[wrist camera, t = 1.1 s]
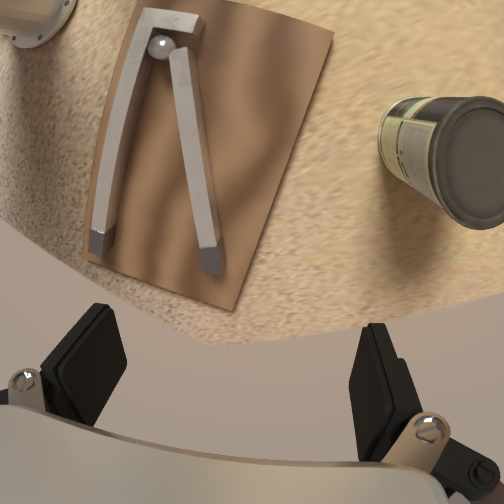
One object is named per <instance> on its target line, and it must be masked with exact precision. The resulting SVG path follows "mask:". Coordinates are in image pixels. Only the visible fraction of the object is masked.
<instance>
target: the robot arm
mask: <svg viewBox="0 0 504 504" xmlns="http://www.w3.org/2000/svg"><path fill="white" fill-rule="evenodd" d="M75 3H76V0H0V35H8V37H9V39H10V41H11V42H12V43H13V44H14V45H15V46H17V47H19V48H29V49H31V48H35V47H38V46H40V45H42V44H44V43H45V42H47V41H48V40H50V39H51V38H52V37H53V36H54V35H55V34H57V32H58V31H59V30H60V29H61V28H62V27H63V25H64V24H65V22H66V21H67V20H68V18H69V16H70V14H71V13H72V11H73V8H74V6H75ZM126 366H127V359H126V355H125V352H124V349H123V345H122V341H121V337H120V334H119V330H118V326H117V322H116V318H115V314H114V311H113V309H111V308H110V306H109V305H107V304H100V303H94V304H93V305H92V306H91V307H90V308H89V309H88V311H87V312H86V313H85V314H84V315H83V316H82V317H81V319H80V320H79V321H78V322H77V323H76V324H75V325H74V326H73V328H72V329H71V330H70V331H69V332H68V333H67V335H66V336H65V337H64V338H63V339H62V340H61V341H60V343H59V344H58V345H57V346H56V347H55V348H54V350H53V351H52V352H51V353H50V355H49V356H48V357H47V358H46V359H45V360H44V362H43V363H42V364H41V365H40V367H41V369H42V370H41V371H40V372H38V371H37V370H35V369H31V368H27V369H22V370H19V371H18V372H16V373H15V374H14V375H13V376H12V377H11V378H10V380H9V384H8V389H5V390H1V391H0V504H504V484H503V483H502V482H501V481H500V471H499V468H498V466H497V465H496V463H495V462H493V461H492V460H491V459H489V458H487V457H485V456H483V455H481V454H480V453H478V452H476V451H474V450H472V449H470V448H468V447H466V446H465V445H463V444H461V443H459V442H457V441H456V440H454V439H452V438H450V432H451V431H450V426H449V424H448V422H447V421H446V420H445V419H444V418H443V417H442V416H440V415H439V414H436V413H433V412H423V410H422V407H421V404H420V401H419V398H418V395H417V392H416V389H415V386H414V383H413V381H412V378H411V375H410V373H409V370H408V367H407V364H406V362H405V360H404V359H403V358H397V355H396V352H395V349H394V347H393V344H392V341H391V339H390V336H389V333H388V331H387V328H386V326H385V324H384V323H369V324H368V326H367V327H363V329H362V332H361V337H360V341H359V345H358V349H357V353H356V357H355V361H354V365H353V369H352V372H351V376H350V380H349V393H350V400H351V406H352V413H353V420H354V428H355V435H356V443H357V451H358V458H359V461H360V462H345V461H344V462H343V461H342V462H312V461H285V460H267V459H255V458H243V457H234V456H226V455H218V454H210V453H203V452H197V451H192V450H186V449H180V448H175V447H169V446H164V445H159V444H155V443H151V442H146V441H142V440H138V439H134V438H130V437H126V436H122V435H118V434H115V433H111V432H107V431H104V430H101V429H97V428H94V427H93V426H94V424H95V422H96V421H97V419H98V417H99V415H100V413H101V411H102V410H103V408H104V406H105V404H106V403H107V401H108V399H109V397H110V395H111V394H112V392H113V390H114V388H115V387H116V385H117V383H118V381H119V380H120V378H121V376H122V374H123V373H124V371H125V369H126ZM362 461H364V462H362Z"/></svg>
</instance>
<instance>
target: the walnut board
mask: <svg viewBox="0 0 504 504" xmlns="http://www.w3.org/2000/svg"><path fill="white" fill-rule="evenodd" d="M144 7H146V8H156V9H164V10H172V11H178V12H185V13H191V14H197V15H200V16H201V18H202V19H203V20H204V21H205V22H206V23H205V26H204V28H203V31H202V34H201V37H200V39H196V38H191V37H186V36H180V35H175V34H169V33H163V35H164V36H167V37H169V38H171V39H172V40H174V41H176V42H177V43H179V44H180V46H181V48H183V47H188V48H189V49H191V50H193V51H194V52H195V59H196V66H197V74H198V82H199V89H200V97H201V104H202V111H203V118H204V125H205V132H206V139H207V146H208V153H209V160H210V166H211V173H212V179H213V186H214V192H215V199H216V205H217V211H218V218H219V224H220V230H221V235H222V237H223V243H224V249H225V255H226V262H225V265H224V268H223V271H222V273H218V274H203V270H202V265H201V260H200V255H199V250H198V248H199V242H198V237H197V232H196V227H195V221H194V216H193V210H192V205H191V199H190V194H189V188H188V182H187V176H186V171H185V165H184V158H183V152H182V146H181V140H180V133H179V127H178V120H177V113H176V106H175V99H174V92H173V85H172V77H171V69H170V62H165V61H162V60H159V59H156V58H154V61H153V64H152V67H151V71H150V74H149V77H148V81H147V84H146V87H145V91H144V94H143V98H142V101H141V105H140V109H139V113H138V117H137V120H136V124H135V129H134V133H133V137H132V141H131V146H130V150H129V155H128V159H127V164H126V169H125V174H124V179H123V184H122V190H121V195H120V201H119V207H118V213H117V220H116V224H117V225H116V232H115V239H114V246H113V247H112V248H111V249H110V250H109V251H108V252H107V253H106V254H105V255H104V256H103V257H100V256H97V255H95V254H92V253H89V252H88V242H89V231H90V228H91V227H92V218H93V209H94V202H95V194H96V187H97V181H98V175H99V169H100V163H101V157H102V152H103V147H104V142H105V137H106V132H107V128H108V123H109V119H110V114H111V110H112V106H113V102H114V98H115V94H116V90H117V87H118V83H119V80H120V76H121V73H122V69H123V66H124V62H125V59H126V56H127V53H128V50H129V47H130V44H131V41H132V38H133V35H134V32H135V29H136V26H137V23H138V21H139V18H140V15H141V13H142V10H143V8H144ZM334 33H335V32H332V31H329V30H327V29H324V28H321V27H319V26H316V25H313V24H310V23H307V22H304V21H301V20H298V19H295V18H292V17H289V16H286V15H282V14H279V13H275V12H272V11H268V10H265V9H261V8H257V7H253V6H249V5H245V4H240V3H236V2H231V1H227V0H138V1H137V4H136V7H135V9H134V12H133V14H132V17H131V20H130V23H129V25H128V28H127V31H126V34H125V37H124V40H123V43H122V46H121V49H120V52H119V55H118V59H117V62H116V65H115V69H114V72H113V76H112V79H111V83H110V87H109V90H108V94H107V98H106V102H105V106H104V111H103V115H102V119H101V124H100V129H99V133H98V138H97V143H96V149H95V154H94V160H93V166H92V172H91V179H90V185H89V193H88V200H87V209H86V218H85V228H84V240H83V254H82V258H84V259H87V260H89V261H92V262H94V263H97V264H100V265H102V266H105V267H107V268H110V269H113V270H115V271H118V272H121V273H123V274H126V275H129V276H131V277H134V278H137V279H139V280H142V281H145V282H148V283H150V284H153V285H156V286H159V287H162V288H165V289H167V290H170V291H173V292H176V293H179V294H182V295H185V296H188V297H191V298H194V299H197V300H200V301H203V302H206V303H209V304H212V305H215V306H218V307H221V308H224V309H227V310H230V311H233V308H234V305H235V303H236V300H237V297H238V294H239V292H240V289H241V286H242V284H243V281H244V278H245V275H246V273H247V270H248V267H249V265H250V262H251V259H252V257H253V254H254V251H255V248H256V246H257V243H258V240H259V238H260V235H261V232H262V229H263V227H264V224H265V221H266V219H267V216H268V213H269V210H270V208H271V205H272V202H273V200H274V197H275V194H276V191H277V189H278V186H279V183H280V181H281V178H282V175H283V172H284V170H285V167H286V164H287V162H288V159H289V156H290V153H291V151H292V148H293V145H294V142H295V140H296V137H297V134H298V132H299V129H300V126H301V123H302V121H303V118H304V115H305V113H306V110H307V107H308V104H309V102H310V99H311V96H312V93H313V91H314V88H315V85H316V82H317V80H318V77H319V74H320V72H321V69H322V66H323V63H324V61H325V58H326V55H327V52H328V50H329V47H330V44H331V41H332V39H333V36H334Z"/></svg>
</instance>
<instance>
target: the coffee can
mask: <svg viewBox="0 0 504 504" xmlns="http://www.w3.org/2000/svg"><path fill="white" fill-rule="evenodd" d="M378 145H379V151H380V155H381V157H382V160H383V162H384V163H385V165H386V167H387V168H388V169H389V171H390V172H391V173H392V174H393V175H394V176H395V177H397V178H398V179H399V180H401V181H403V182H405V183H407V184H408V185H410V186H411V187H413V188H414V189H416V190H417V191H418V192H420V193H421V194H423V195H424V196H426V197H427V198H428V199H430V200H431V201H433V202H434V203H435V204H437V205H438V206H439V207H441V208H442V209H443V210H445V211H446V213H447V214H448V215H449V216H450V217H451V218H452V219H454V220H455V221H456V222H457V223H459V224H460V225H462V226H464V227H467V228H470V229H474V230H486V229H490V228H494V227H496V226H498V225H500V224H502V223H503V222H504V103H502V102H501V101H499V100H497V99H494V98H491V97H484V96H475V97H408V98H404V99H402V100H399V101H398V102H396V103H395V104H393V105H392V106H391V107H390V108H389V109H388V110H387V112H386V113H385V115H384V116H383V118H382V120H381V123H380V127H379V132H378Z"/></svg>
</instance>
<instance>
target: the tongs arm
mask: <svg viewBox="0 0 504 504" xmlns="http://www.w3.org/2000/svg"><path fill="white" fill-rule="evenodd" d="M148 52H149V54H150V55H151V56H152V57H154V58H156V59H159V60H162V61H165V62H170V69H171V77H172V85H173V92H174V99H175V106H176V113H177V120H178V127H179V133H180V140H181V146H182V152H183V158H184V165H185V171H186V176H187V182H188V188H189V194H190V199H191V205H192V210H193V216H194V221H195V227H196V232H197V237H198V242H199V248H198V250H199V255H200V260H201V265H202V270H203V274H218V273H222V271H223V268H224V265H225V262H226V255H225V249H224V243H223V237H222V235H221V230H220V224H219V218H218V211H217V205H216V199H215V192H214V186H213V179H212V173H211V166H210V160H209V153H208V146H207V139H206V132H205V125H204V118H203V111H202V104H201V97H200V89H199V82H198V74H197V66H196V59H195V52H194V51H193V50H191V49H189V48H188V47H183V48H181V46H180V44H179V43H177V42H176V41H174V40H172V39H171V38H169V37H167V36H164V35H160V36H157V37H155V38H153V39H152V40H151V42H150V43H149V46H148Z"/></svg>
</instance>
